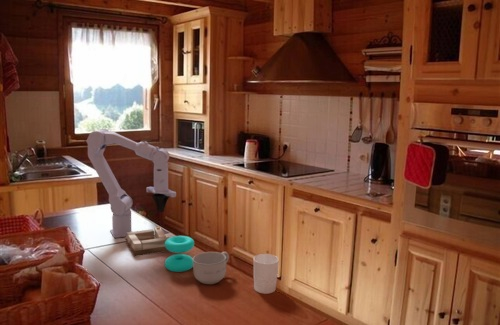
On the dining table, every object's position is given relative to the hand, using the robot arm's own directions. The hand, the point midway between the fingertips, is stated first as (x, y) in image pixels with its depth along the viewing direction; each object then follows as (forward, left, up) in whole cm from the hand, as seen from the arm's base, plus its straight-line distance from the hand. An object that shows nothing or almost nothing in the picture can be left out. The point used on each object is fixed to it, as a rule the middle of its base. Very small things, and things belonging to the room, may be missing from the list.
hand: (161, 211), depth 174 cm
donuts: (+32, -3, -11) cm, 34 cm away
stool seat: (+10, -8, -10) cm, 16 cm away
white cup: (+58, +16, -11) cm, 61 cm away
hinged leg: (+8, -3, -8) cm, 12 cm away
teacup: (+45, +4, -11) cm, 46 cm away
